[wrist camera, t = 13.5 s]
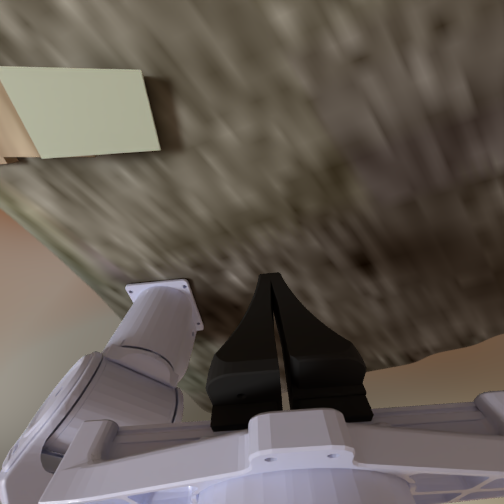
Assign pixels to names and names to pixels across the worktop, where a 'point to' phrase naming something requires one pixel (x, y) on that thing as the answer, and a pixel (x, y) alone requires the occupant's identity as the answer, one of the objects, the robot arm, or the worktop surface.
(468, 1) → the worktop surface
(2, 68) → the domino
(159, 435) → the robot arm
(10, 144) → the domino
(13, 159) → the domino
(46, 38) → the worktop surface
